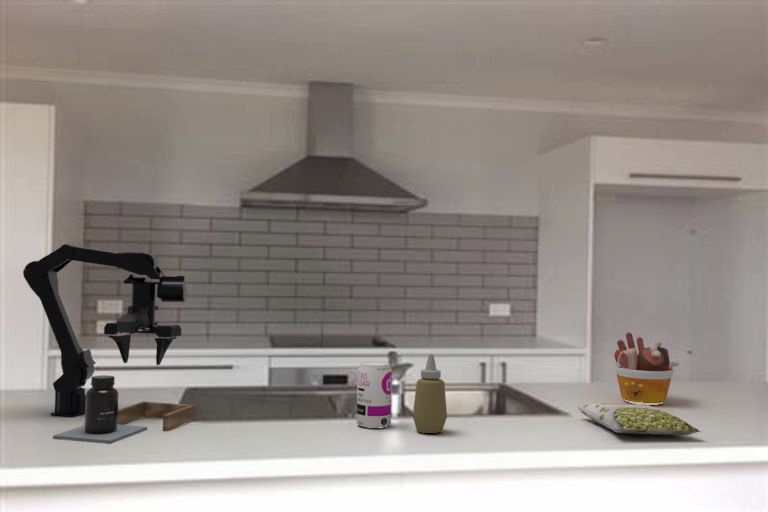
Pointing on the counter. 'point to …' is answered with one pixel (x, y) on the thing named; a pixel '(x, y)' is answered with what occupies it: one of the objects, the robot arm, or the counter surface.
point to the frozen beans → (637, 419)
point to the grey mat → (111, 437)
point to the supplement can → (374, 394)
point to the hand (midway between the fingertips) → (141, 363)
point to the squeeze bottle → (430, 400)
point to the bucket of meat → (643, 371)
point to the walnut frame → (158, 413)
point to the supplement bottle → (101, 406)
